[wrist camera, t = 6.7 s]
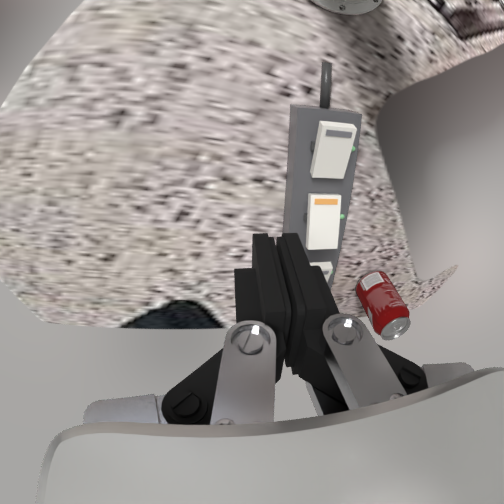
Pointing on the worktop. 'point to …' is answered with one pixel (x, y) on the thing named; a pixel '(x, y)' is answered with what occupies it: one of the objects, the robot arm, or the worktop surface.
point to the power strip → (299, 166)
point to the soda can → (383, 305)
